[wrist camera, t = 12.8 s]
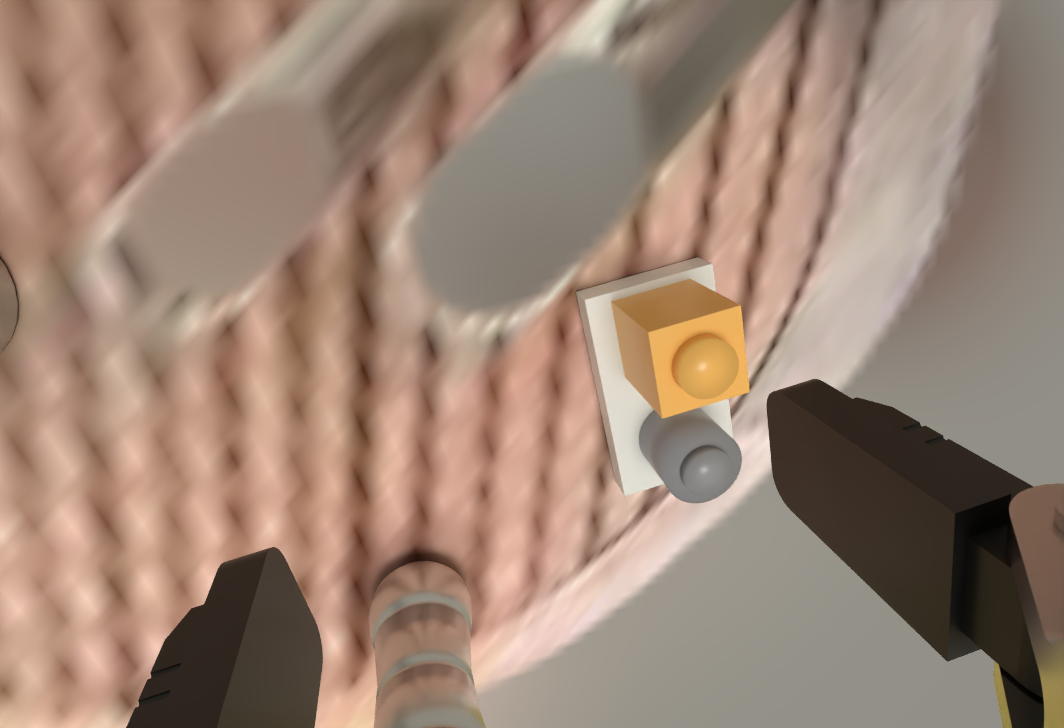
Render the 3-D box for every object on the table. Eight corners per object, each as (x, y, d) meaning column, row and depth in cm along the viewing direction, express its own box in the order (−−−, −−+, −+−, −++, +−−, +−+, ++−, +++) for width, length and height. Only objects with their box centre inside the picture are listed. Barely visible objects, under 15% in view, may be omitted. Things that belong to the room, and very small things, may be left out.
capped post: (644, 475, 42) (676, 520, 37) (633, 412, 40) (665, 452, 35) (712, 454, 42) (752, 496, 37) (703, 391, 40) (744, 426, 35)
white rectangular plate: (615, 480, 44) (624, 496, 42) (575, 291, 38) (584, 300, 36) (721, 447, 45) (735, 460, 43) (697, 257, 39) (712, 263, 37)
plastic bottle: (357, 564, 42) (326, 904, 24) (456, 535, 43) (499, 843, 24) (385, 635, 45) (376, 992, 26) (478, 606, 45) (532, 934, 27)
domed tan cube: (624, 377, 39) (669, 427, 32) (610, 301, 37) (655, 338, 30) (700, 354, 39) (759, 399, 33) (690, 278, 37) (750, 310, 31)
